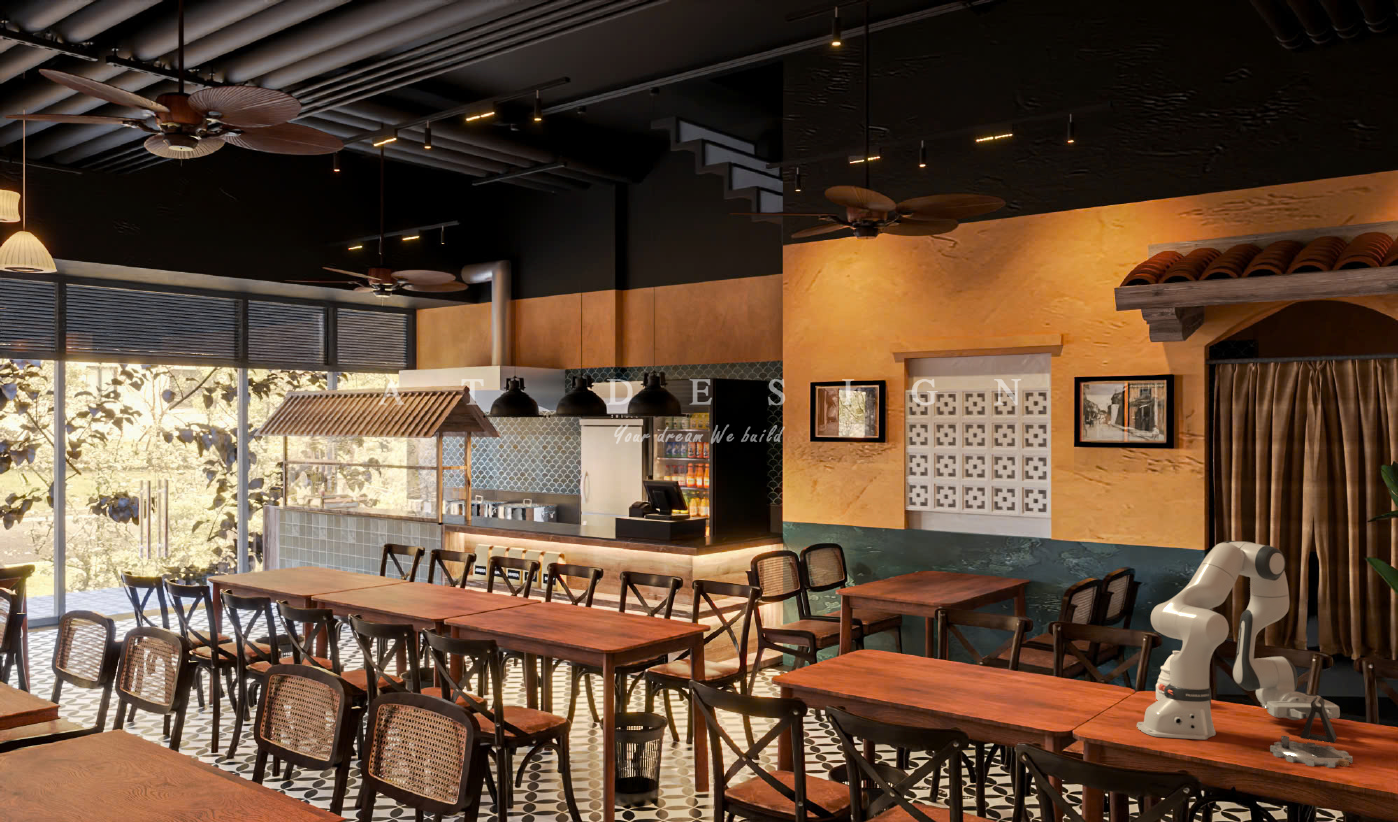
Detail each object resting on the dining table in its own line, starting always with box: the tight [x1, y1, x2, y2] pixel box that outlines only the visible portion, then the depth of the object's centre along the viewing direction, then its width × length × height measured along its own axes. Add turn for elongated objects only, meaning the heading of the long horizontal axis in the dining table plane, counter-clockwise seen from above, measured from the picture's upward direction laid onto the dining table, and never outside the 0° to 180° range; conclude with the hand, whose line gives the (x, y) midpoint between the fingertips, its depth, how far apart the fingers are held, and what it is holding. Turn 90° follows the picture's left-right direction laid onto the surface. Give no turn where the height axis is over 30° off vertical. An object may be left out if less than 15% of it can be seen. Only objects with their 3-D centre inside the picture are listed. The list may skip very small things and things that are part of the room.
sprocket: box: [1269, 735, 1354, 768], centre depth 292 cm, size 20×20×4 cm
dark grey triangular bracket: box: [1300, 697, 1338, 744], centre depth 311 cm, size 9×6×12 cm, turn 52°
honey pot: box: [1155, 650, 1181, 700], centre depth 355 cm, size 13×13×18 cm
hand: (1316, 716), depth 311 cm, fingers open, 6 cm apart
